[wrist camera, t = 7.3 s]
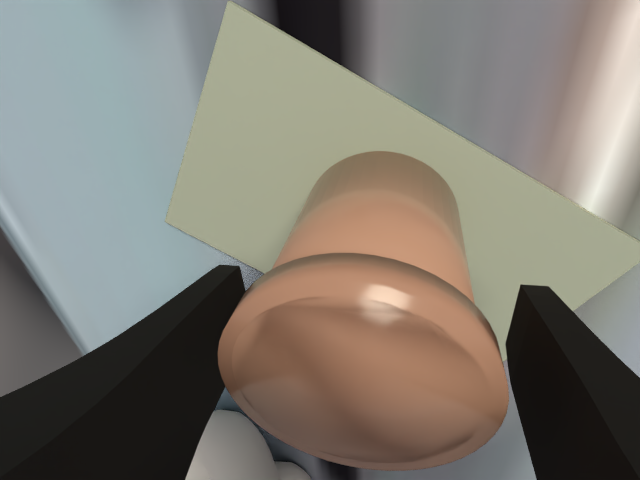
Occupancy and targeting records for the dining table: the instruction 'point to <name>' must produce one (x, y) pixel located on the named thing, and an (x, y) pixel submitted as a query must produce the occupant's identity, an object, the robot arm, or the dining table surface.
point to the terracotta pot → (369, 326)
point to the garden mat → (358, 137)
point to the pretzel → (237, 453)
